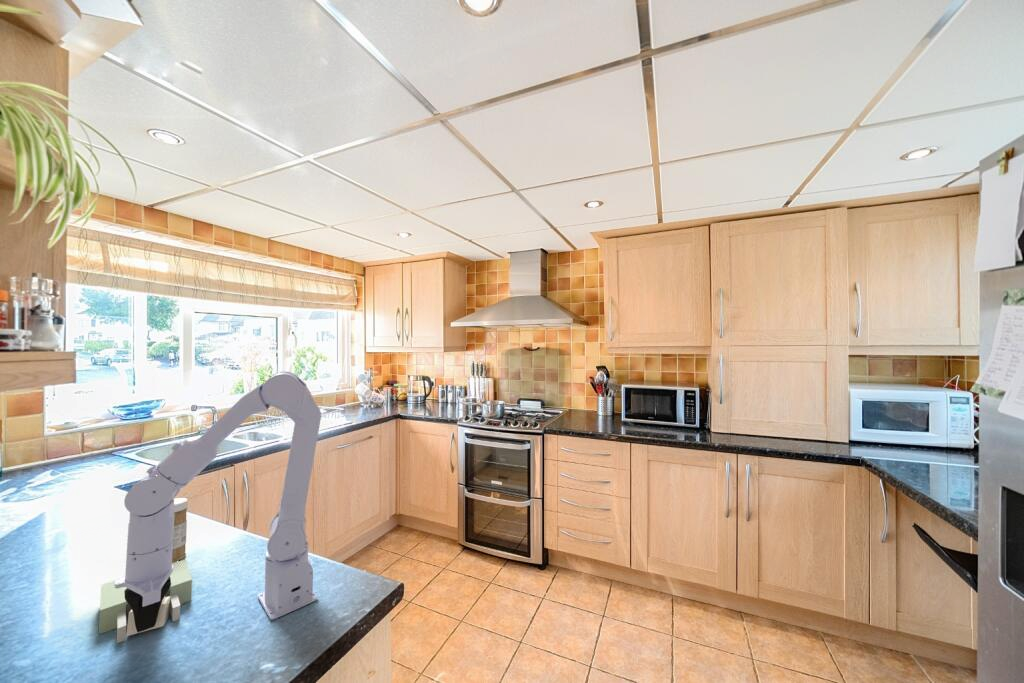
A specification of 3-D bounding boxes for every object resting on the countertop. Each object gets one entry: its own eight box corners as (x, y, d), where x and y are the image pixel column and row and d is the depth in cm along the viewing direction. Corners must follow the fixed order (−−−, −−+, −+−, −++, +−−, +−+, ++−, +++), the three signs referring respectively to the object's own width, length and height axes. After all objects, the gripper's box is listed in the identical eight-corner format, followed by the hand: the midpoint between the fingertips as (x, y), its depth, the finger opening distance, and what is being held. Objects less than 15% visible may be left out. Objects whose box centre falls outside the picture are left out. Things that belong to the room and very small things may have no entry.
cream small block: (163, 626, 65) (165, 597, 66) (126, 636, 62) (129, 605, 63) (168, 617, 68) (171, 589, 69) (133, 626, 66) (136, 598, 67)
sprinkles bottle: (170, 555, 88) (172, 497, 88) (191, 554, 89) (192, 496, 89) (153, 566, 84) (155, 505, 84) (175, 565, 84) (177, 504, 84)
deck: (195, 613, 69) (195, 591, 69) (98, 650, 60) (98, 625, 60) (184, 578, 79) (185, 559, 79) (100, 606, 71) (101, 584, 71)
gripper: (116, 539, 66) (111, 618, 66) (117, 573, 56) (111, 666, 56) (170, 526, 71) (165, 599, 71) (179, 555, 61) (174, 641, 61)
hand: (145, 628), depth 63 cm, fingers closed, pressing on cream small block
